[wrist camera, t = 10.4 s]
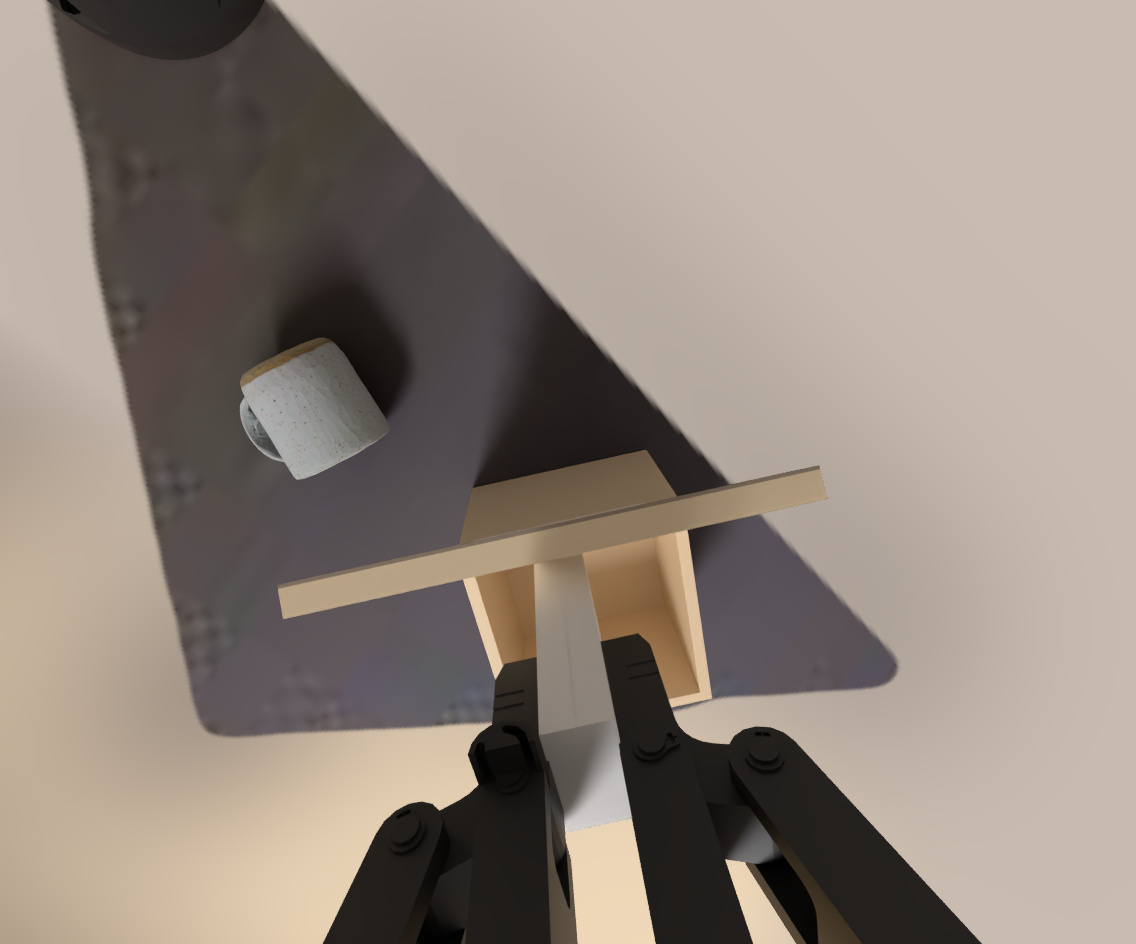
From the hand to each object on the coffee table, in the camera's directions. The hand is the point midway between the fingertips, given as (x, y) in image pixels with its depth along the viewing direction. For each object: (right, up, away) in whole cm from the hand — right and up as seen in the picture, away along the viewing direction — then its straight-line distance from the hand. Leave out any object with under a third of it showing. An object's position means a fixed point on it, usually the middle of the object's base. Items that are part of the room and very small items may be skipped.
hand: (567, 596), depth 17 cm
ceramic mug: (-19, +9, +27) cm, 34 cm away
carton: (+1, -3, +32) cm, 33 cm away
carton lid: (0, +1, +8) cm, 8 cm away
